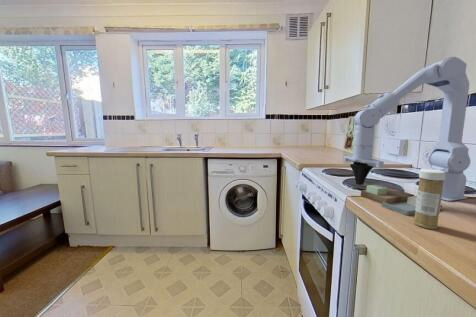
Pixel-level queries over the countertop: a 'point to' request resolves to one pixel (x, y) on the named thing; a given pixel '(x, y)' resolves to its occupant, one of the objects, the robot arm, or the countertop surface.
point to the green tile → (376, 189)
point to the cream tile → (412, 200)
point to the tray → (402, 207)
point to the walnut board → (387, 196)
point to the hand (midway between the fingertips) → (359, 184)
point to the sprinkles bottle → (429, 198)
